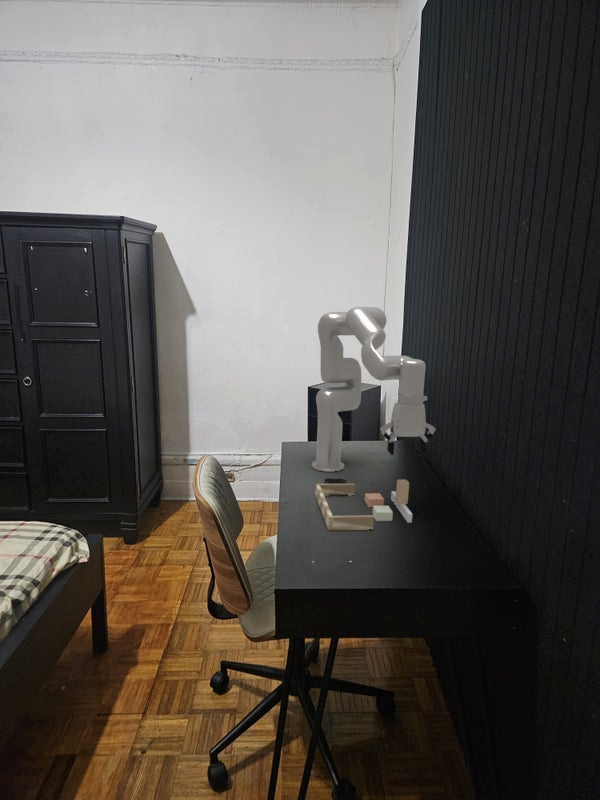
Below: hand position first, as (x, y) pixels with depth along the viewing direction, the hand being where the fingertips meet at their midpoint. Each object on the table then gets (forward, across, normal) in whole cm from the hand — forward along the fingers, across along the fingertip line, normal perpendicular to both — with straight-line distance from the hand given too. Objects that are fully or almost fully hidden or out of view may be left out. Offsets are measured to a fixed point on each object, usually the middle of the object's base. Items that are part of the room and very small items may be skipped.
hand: (406, 453), depth 166 cm
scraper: (+19, 0, 0) cm, 19 cm away
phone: (+19, +18, -20) cm, 33 cm away
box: (+19, +19, 0) cm, 27 cm away
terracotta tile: (+19, +8, -6) cm, 21 cm away
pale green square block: (+19, +8, +4) cm, 21 cm away
